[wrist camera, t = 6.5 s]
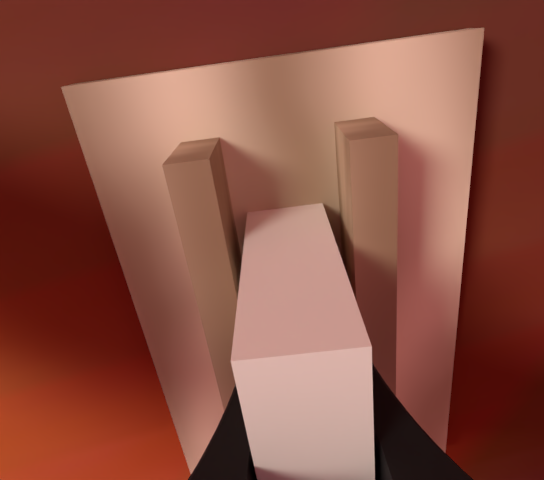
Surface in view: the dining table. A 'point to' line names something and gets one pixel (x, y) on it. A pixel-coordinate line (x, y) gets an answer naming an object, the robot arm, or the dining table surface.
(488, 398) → the dining table surface
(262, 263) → the pale pink flat block
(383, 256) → the notched stand
